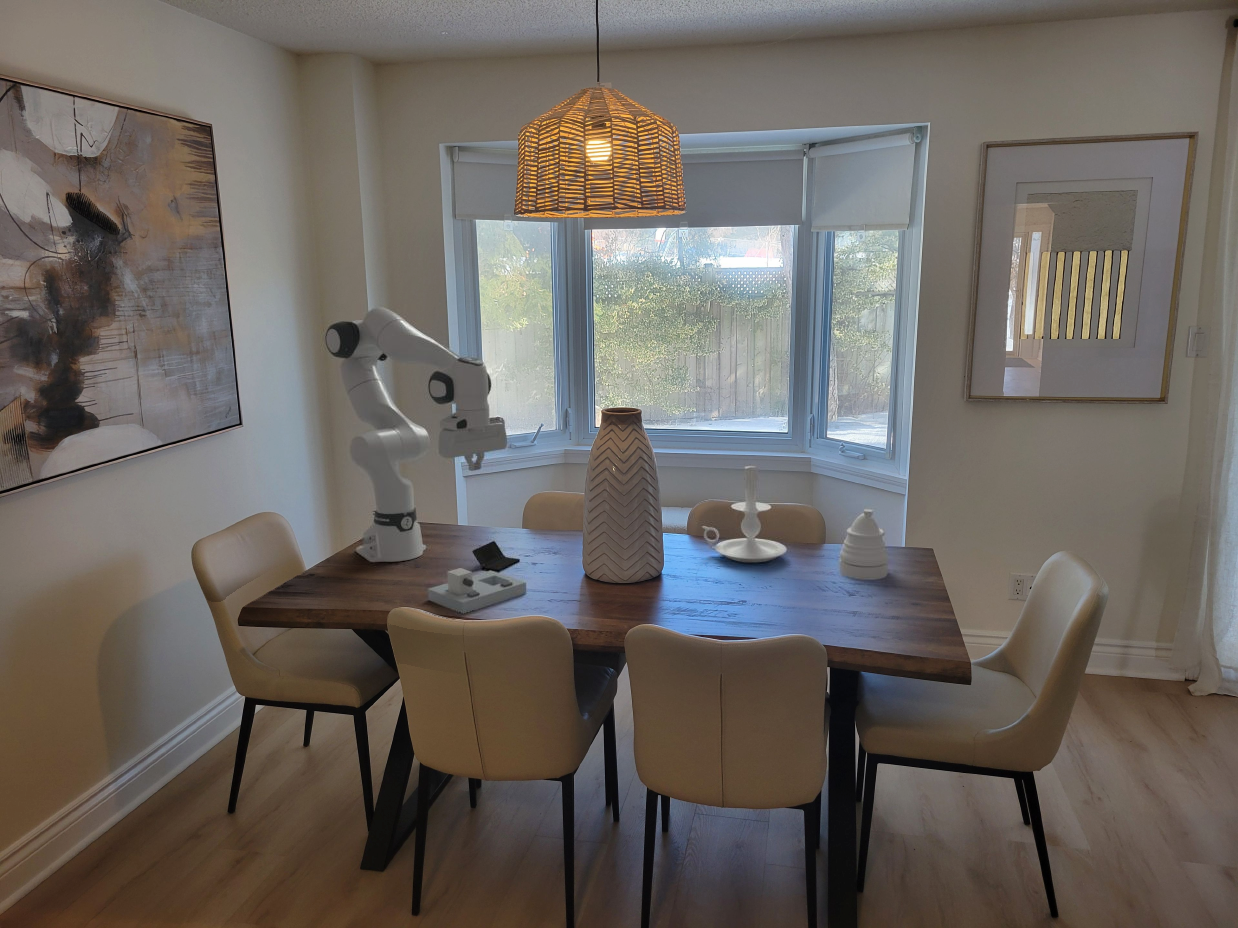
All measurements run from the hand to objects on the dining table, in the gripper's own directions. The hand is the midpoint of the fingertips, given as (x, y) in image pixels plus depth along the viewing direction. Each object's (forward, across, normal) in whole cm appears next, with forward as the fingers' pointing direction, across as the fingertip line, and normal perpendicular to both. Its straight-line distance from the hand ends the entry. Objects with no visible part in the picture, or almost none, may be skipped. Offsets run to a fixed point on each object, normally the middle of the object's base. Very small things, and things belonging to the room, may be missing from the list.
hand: (475, 469), depth 231 cm
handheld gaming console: (+31, -10, -6) cm, 33 cm away
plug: (+30, +15, +12) cm, 36 cm away
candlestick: (+30, -63, +44) cm, 82 cm away
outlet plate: (+30, +10, +12) cm, 34 cm away
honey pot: (+30, -74, +76) cm, 110 cm away
